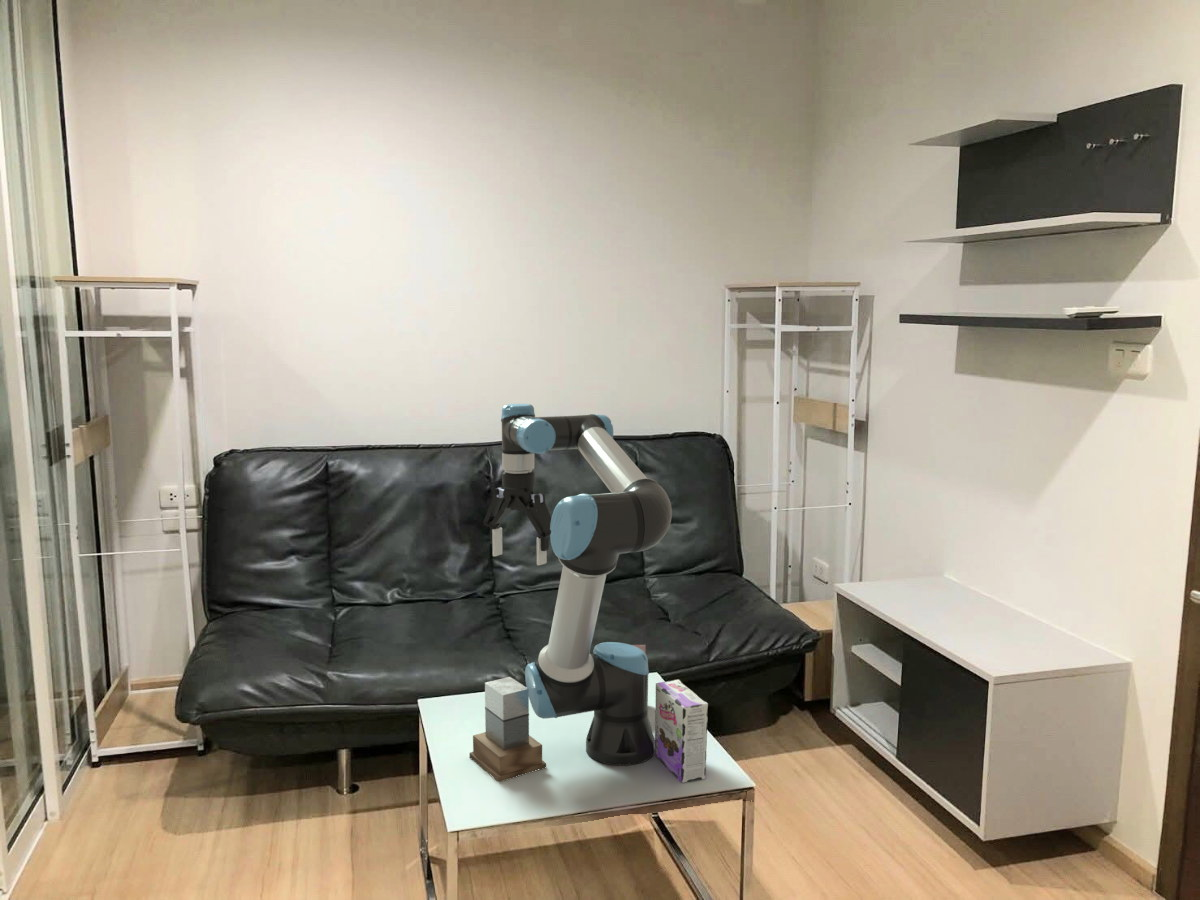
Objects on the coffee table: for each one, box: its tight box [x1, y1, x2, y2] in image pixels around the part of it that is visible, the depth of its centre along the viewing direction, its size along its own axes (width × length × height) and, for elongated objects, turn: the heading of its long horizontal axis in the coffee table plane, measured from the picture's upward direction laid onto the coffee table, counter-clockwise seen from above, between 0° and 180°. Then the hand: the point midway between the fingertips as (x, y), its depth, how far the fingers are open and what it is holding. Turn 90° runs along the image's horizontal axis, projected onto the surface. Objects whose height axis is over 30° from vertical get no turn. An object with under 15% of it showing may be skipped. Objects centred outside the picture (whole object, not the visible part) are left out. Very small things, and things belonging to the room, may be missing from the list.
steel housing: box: [484, 676, 530, 751], centre depth 201 cm, size 6×8×12 cm
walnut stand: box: [469, 731, 547, 783], centre depth 202 cm, size 11×13×5 cm
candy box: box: [654, 679, 709, 784], centre depth 200 cm, size 14×6×16 cm, turn 21°
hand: (519, 559), depth 225 cm, fingers open, 13 cm apart
